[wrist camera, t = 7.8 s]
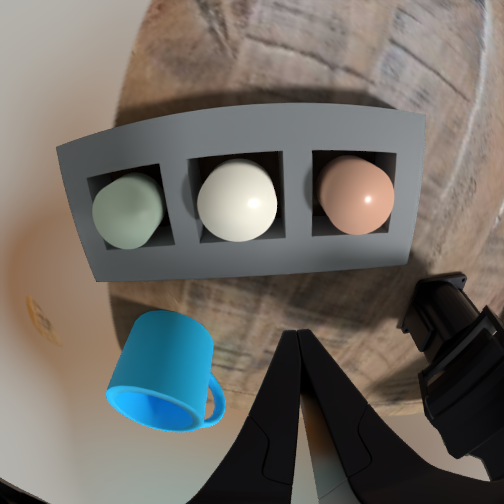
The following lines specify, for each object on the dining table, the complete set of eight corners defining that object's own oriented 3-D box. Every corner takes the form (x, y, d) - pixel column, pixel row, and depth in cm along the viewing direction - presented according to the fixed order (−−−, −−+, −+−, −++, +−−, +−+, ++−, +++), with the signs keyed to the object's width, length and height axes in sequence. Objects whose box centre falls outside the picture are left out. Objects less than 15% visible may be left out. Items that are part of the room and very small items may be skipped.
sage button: (160, 167, 15) (145, 178, 13) (171, 228, 17) (160, 247, 15) (104, 178, 15) (85, 189, 13) (118, 233, 17) (103, 251, 15)
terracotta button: (379, 156, 14) (397, 165, 12) (374, 217, 16) (389, 233, 14) (315, 154, 14) (326, 163, 12) (315, 219, 16) (324, 236, 14)
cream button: (271, 156, 14) (275, 164, 12) (275, 221, 16) (278, 239, 14) (201, 162, 15) (191, 171, 13) (210, 225, 17) (203, 244, 15)
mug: (119, 330, 24) (90, 395, 17) (168, 295, 22) (140, 375, 15) (200, 388, 29) (191, 448, 22) (255, 367, 26) (255, 437, 19)
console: (401, 111, 14) (425, 114, 11) (389, 243, 19) (406, 264, 16) (81, 139, 15) (55, 147, 12) (112, 260, 20) (96, 281, 17)
